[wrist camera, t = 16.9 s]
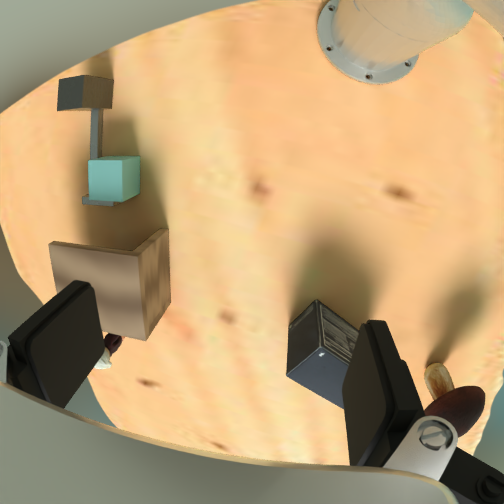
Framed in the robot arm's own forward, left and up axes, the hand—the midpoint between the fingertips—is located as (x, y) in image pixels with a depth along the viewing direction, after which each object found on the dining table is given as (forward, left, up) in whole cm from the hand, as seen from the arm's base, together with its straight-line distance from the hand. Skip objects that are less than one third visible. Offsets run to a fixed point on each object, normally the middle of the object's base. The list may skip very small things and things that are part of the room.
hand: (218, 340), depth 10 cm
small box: (+20, +10, -31) cm, 38 cm away
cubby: (+12, -19, -30) cm, 38 cm away
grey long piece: (-5, -23, -30) cm, 38 cm away
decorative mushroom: (+26, +30, -31) cm, 50 cm away
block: (0, -20, -30) cm, 36 cm away
